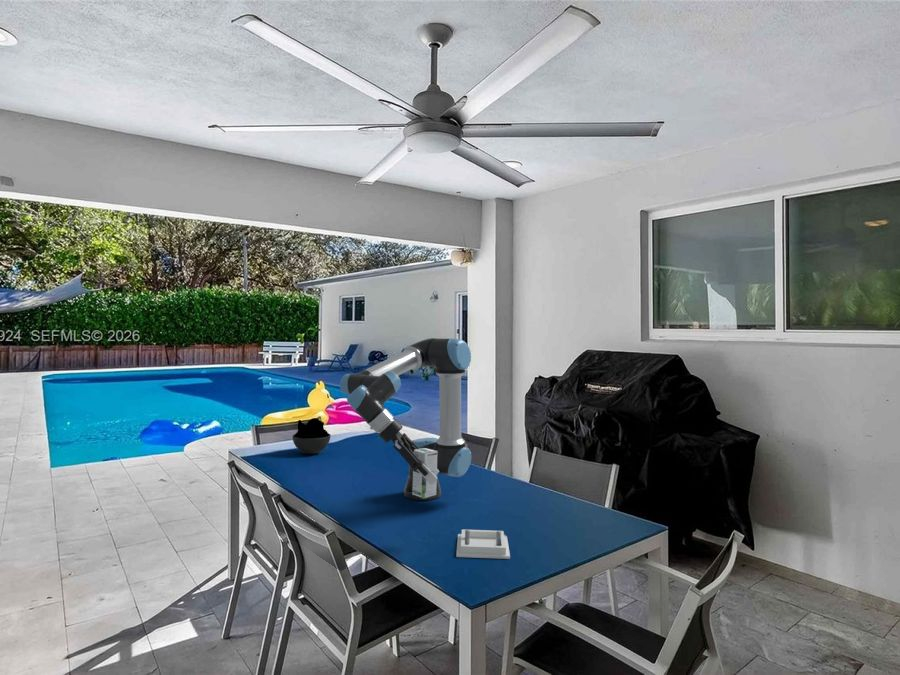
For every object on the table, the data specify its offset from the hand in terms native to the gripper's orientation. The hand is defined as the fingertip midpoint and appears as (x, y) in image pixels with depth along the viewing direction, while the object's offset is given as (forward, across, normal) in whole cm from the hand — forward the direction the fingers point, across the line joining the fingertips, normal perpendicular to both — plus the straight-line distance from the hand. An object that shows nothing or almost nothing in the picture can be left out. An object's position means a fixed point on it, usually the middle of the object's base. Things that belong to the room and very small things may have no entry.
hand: (435, 477), depth 170 cm
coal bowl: (-39, -114, -68) cm, 138 cm away
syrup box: (+2, 0, -6) cm, 7 cm away
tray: (+26, +3, -4) cm, 26 cm away
